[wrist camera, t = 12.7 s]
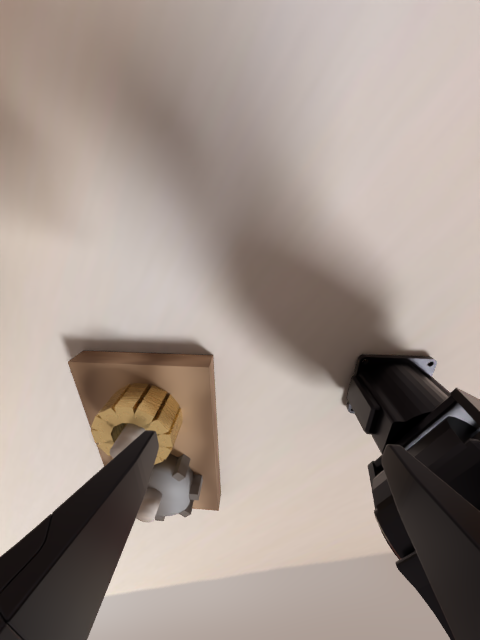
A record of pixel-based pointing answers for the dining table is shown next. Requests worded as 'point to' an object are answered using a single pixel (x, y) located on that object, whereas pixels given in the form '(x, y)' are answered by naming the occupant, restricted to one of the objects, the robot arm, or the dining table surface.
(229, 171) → the dining table surface
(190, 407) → the gear board
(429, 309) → the dining table surface
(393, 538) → the robot arm
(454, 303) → the dining table surface
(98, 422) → the brass gear
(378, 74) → the dining table surface
